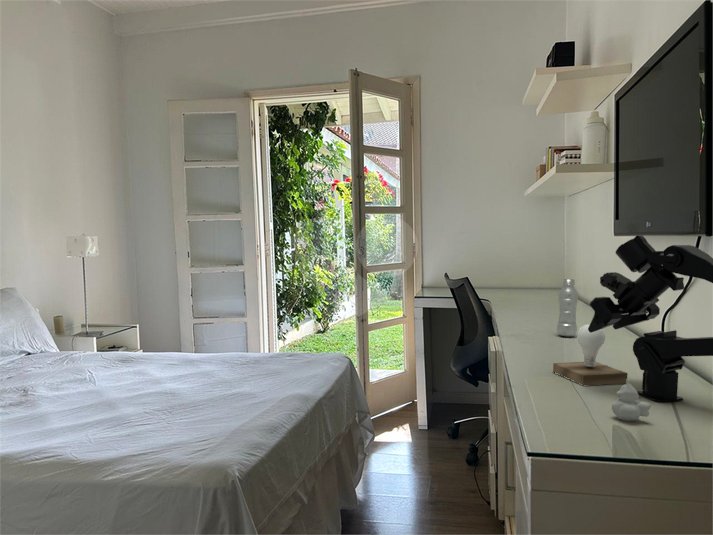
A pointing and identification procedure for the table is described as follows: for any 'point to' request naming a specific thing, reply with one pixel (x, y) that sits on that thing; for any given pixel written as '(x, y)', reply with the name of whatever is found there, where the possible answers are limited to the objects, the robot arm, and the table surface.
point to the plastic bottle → (567, 309)
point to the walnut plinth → (590, 373)
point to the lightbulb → (590, 344)
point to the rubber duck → (629, 404)
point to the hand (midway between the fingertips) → (601, 329)
